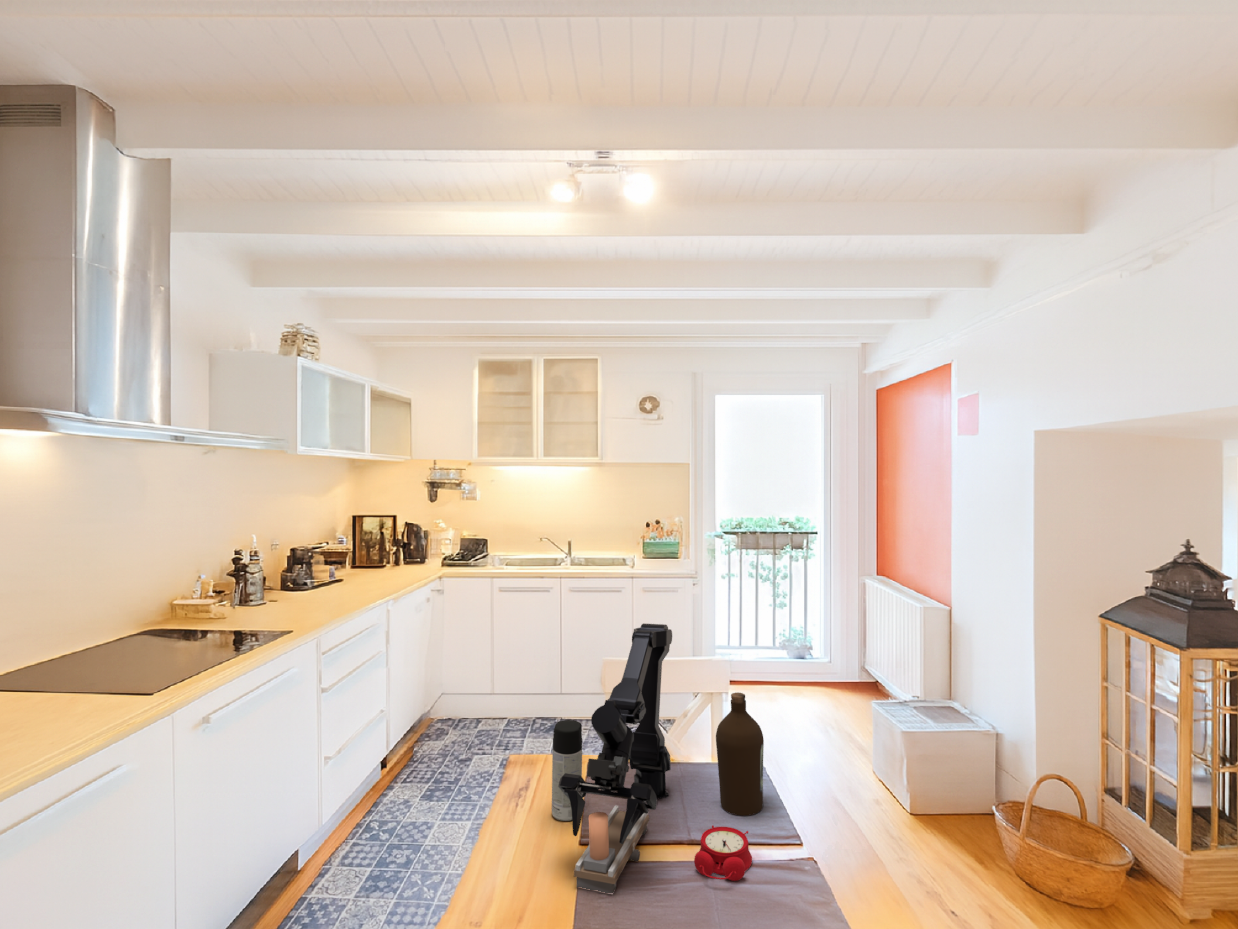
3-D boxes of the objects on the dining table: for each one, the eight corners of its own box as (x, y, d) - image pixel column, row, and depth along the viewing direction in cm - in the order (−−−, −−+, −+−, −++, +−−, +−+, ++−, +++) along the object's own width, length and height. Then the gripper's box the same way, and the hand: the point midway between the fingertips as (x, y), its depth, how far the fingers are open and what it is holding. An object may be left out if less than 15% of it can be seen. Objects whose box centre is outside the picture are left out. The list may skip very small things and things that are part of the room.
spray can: (584, 807, 149) (585, 720, 148) (578, 823, 142) (579, 732, 142) (555, 804, 150) (556, 718, 149) (548, 821, 143) (549, 730, 143)
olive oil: (722, 819, 142) (719, 704, 142) (714, 794, 153) (710, 687, 153) (771, 816, 142) (767, 702, 142) (759, 792, 153) (755, 685, 153)
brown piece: (609, 823, 141) (609, 803, 142) (654, 831, 138) (653, 810, 138) (569, 886, 121) (568, 863, 121) (620, 896, 117) (619, 872, 117)
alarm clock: (755, 828, 132) (744, 853, 118) (755, 862, 130) (743, 891, 117) (705, 820, 135) (687, 843, 122) (704, 853, 134) (687, 880, 120)
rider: (593, 853, 125) (592, 808, 125) (615, 857, 124) (613, 812, 124) (583, 869, 120) (582, 822, 120) (606, 873, 119) (604, 825, 119)
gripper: (560, 732, 130) (537, 817, 119) (651, 742, 123) (635, 832, 113) (577, 755, 137) (556, 837, 126) (663, 766, 131) (649, 853, 120)
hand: (597, 839), depth 121 cm, fingers open, 9 cm apart
